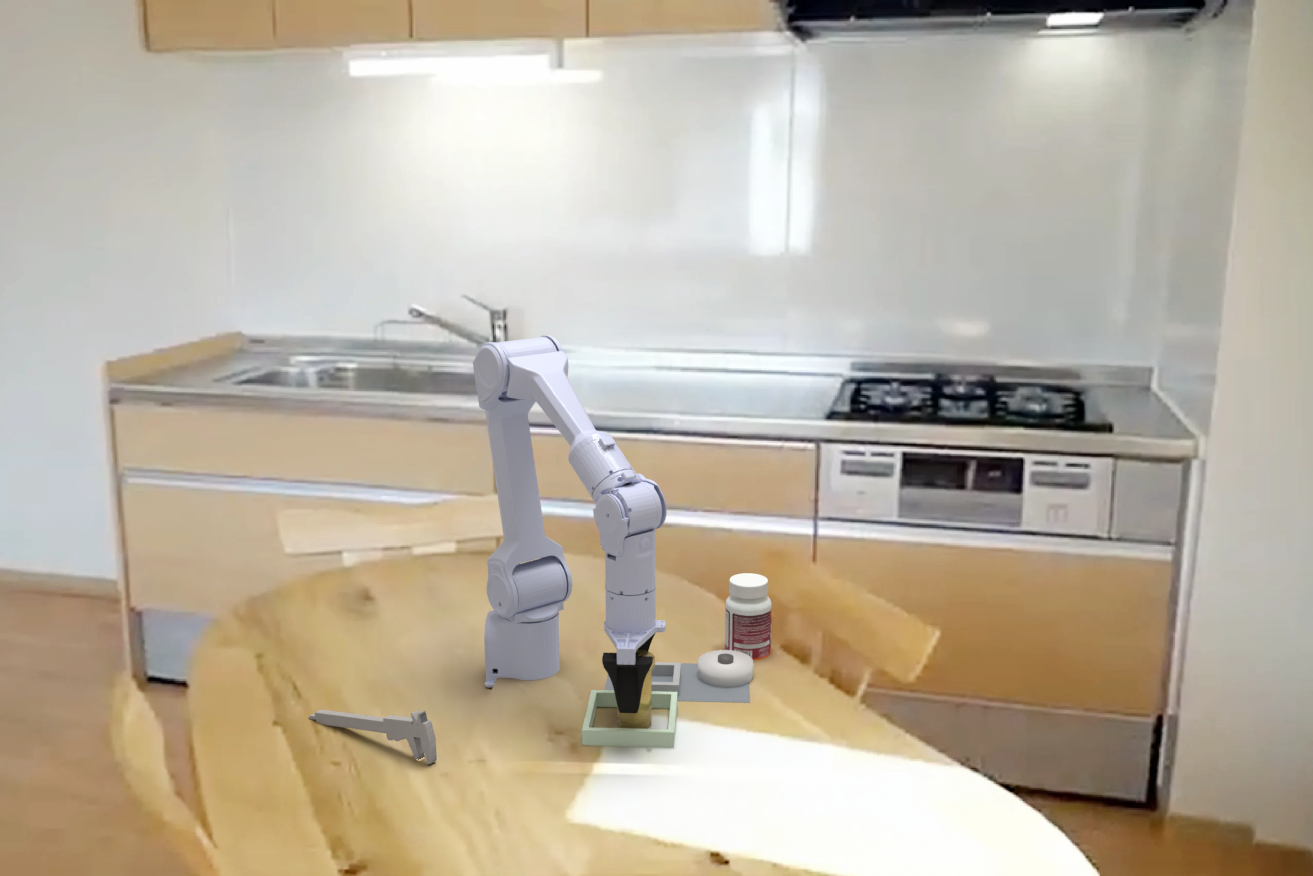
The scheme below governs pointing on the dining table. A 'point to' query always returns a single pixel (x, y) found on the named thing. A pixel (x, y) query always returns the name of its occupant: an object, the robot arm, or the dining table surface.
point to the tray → (627, 734)
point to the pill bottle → (748, 616)
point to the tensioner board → (700, 688)
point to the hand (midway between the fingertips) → (631, 697)
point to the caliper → (389, 728)
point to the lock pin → (645, 709)
